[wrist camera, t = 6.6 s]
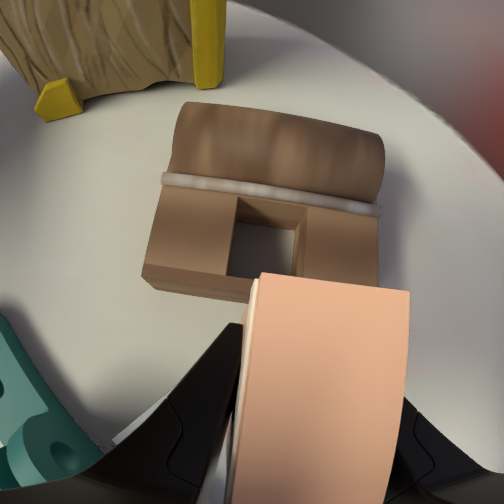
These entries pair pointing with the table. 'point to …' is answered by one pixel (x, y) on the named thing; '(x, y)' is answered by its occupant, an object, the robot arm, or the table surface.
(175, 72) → the decorative book
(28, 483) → the bracket
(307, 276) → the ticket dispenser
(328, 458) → the peach block
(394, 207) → the table surface
